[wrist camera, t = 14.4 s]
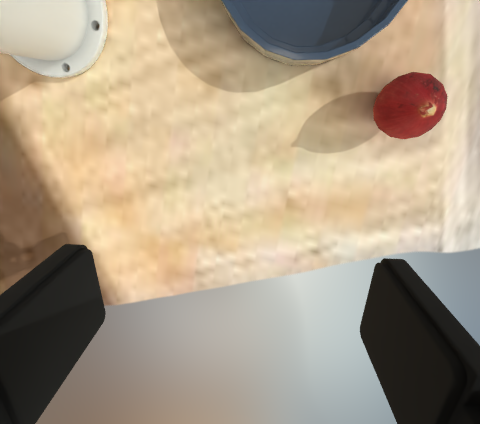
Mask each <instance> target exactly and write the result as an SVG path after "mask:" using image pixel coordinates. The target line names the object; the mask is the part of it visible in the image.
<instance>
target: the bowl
mask: <svg viewBox="0 0 480 424" xmlns="http://www.w3.org/2000/svg"><path fill="white" fill-rule="evenodd" d="M221 1H222V3H223V6H224V8H225V10H226V12H227V14H228V16H229V17H230V19H231V21H232V22H233V24H234V25H235V27H236V28H237V30H238V32H239V33H240V35H241V36H242V38H243V39H244V40H245V41H246V42H248V43H249V44H250V45H251V46H252V47H254V48H255V49H256V50H257V51H259V52H260V53H261V54H262V55H264V56H265V57H267V58H270V59H273V60H276V61H279V62H282V63H285V64H287V65H318V64H321V63H324V62H326V61H329V60H332V59H335V58H337V57H340V56H343V55H345V54H347V53H349V52H351V51H353V50H355V49H357V48H358V47H360V46H361V45H363V44H364V43H365V42H367V41H368V40H369V39H371V38H372V37H373V36H375V35H376V34H377V33H379V32H380V31H381V30H383V29H384V28H385V27H386V26H388V24H390V23H391V21H392V20H393V19H394V17H395V16H396V15H397V14H398V12H399V11H400V10H401V9H402V7H403V6H404V5H405V3H406V2H407V1H408V0H221Z"/></svg>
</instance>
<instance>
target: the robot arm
mask: <svg viewBox="0 0 480 424" xmlns="http://www.w3.org/2000/svg"><path fill="white" fill-rule="evenodd" d="M98 26H99V29H98ZM107 29H108V13H107V7H106V2H105V0H0V53H4V54H10V55H11V56H12V57H13V58H14V59H15V60H16V61H18V62H19V63H20V64H22V65H23V66H25V67H26V68H28V69H29V70H31V71H34V72H36V73H38V74H40V75H45V76H49V77H57V78H66V77H73V76H76V75H79V74H81V73H83V72H84V71H86V70H87V69H89V68H90V67H91V66H92V65H93V64H94V63H95V62H96V61H97V59H98V57H99V56H100V54H101V52H102V50H103V47H104V44H105V41H106V36H107ZM69 67H70V69H69ZM104 319H105V308H104V304H103V299H102V295H101V290H100V286H99V281H98V277H97V272H96V268H95V264H94V259H93V255H92V252H91V250H88V249H87V247H86V246H84V245H73V244H65V245H64V246H62V247H61V248H59V249H58V250H57V251H56V252H54V253H53V254H52V255H51V256H49V257H48V258H47V259H46V260H44V261H43V262H42V263H40V264H39V265H38V266H37V267H35V268H34V269H33V270H32V271H30V272H29V273H28V274H27V275H25V276H24V277H23V278H21V279H20V280H19V281H18V282H16V283H15V284H14V285H13V286H11V287H10V288H9V289H8V290H6V291H5V292H4V293H2V294H1V295H0V424H35V423H36V422H37V420H38V419H39V417H40V416H41V414H42V413H43V412H44V410H45V408H46V407H47V405H48V404H49V403H50V401H51V400H52V398H53V397H54V395H55V394H56V392H57V391H58V389H59V388H60V386H61V385H62V383H63V382H64V380H65V379H66V377H67V375H68V374H69V373H70V371H71V370H72V368H73V367H74V365H75V363H76V362H77V361H78V359H79V358H80V356H81V355H82V353H83V352H84V350H85V349H86V347H87V346H88V344H89V343H90V341H91V340H92V338H93V337H94V335H95V334H96V333H97V331H98V330H99V328H100V326H101V325H102V324H103V322H104ZM360 334H361V338H362V340H363V343H364V345H365V348H366V350H367V353H368V355H369V357H370V360H371V362H372V364H373V367H374V369H375V371H376V374H377V376H378V379H379V381H380V384H381V386H382V388H383V391H384V393H385V395H386V398H387V400H388V402H389V405H390V407H391V410H392V412H393V414H394V417H395V419H396V422H397V424H480V346H479V344H478V343H477V342H476V341H475V340H474V339H473V338H472V336H471V335H470V334H469V333H468V332H467V331H466V330H465V328H464V327H463V326H462V325H461V324H460V323H459V322H458V320H457V319H456V318H455V317H454V316H453V315H452V314H451V312H450V311H449V310H448V309H447V308H446V307H445V306H444V304H443V303H442V302H441V301H440V300H439V299H438V297H437V296H436V295H435V294H434V293H433V292H432V291H431V289H430V288H429V287H428V286H427V285H426V284H425V283H424V282H423V281H422V279H421V278H420V277H419V276H418V275H417V273H416V272H415V271H414V270H413V269H412V268H411V267H410V265H409V264H408V263H407V262H406V261H405V260H403V259H383V260H382V261H381V263H377V264H376V265H375V268H374V273H373V276H372V281H371V284H370V289H369V293H368V297H367V301H366V305H365V309H364V313H363V317H362V321H361V325H360Z"/></svg>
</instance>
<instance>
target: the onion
mask: <svg viewBox="0 0 480 424" xmlns="http://www.w3.org/2000/svg"><path fill="white" fill-rule="evenodd" d="M446 105H447V94H446V91H445V89H444V86H443V84H442V83H441V82H439V81H438V80H437V79H436V78H434V77H433V76H432V75H431V74H424V73H417V72H411V73H408V74H405V75H402V76H399V77H397V78H396V79H394V80H393V81H392V82H390V83H389V84H387V85H386V86H385V87H384V88H383V89H382V91H381V92H380V93H379V95H378V96H377V98H376V101H375V104H374V108H373V112H374V121H375V122H376V124H377V126H378V128H379V129H380V130H382V131H383V132H384V133H386V134H387V135H389V136H390V137H394V138H399V139H408V138H413V137H418V136H421V135H422V134H424V133H426V132H428V131H429V130H431V129H432V128H433V127H434V126H435V125H436V124H437V123H438V122H439V121H440V120H441V118H442V116H443V114H444V112H445V110H446Z"/></svg>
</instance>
